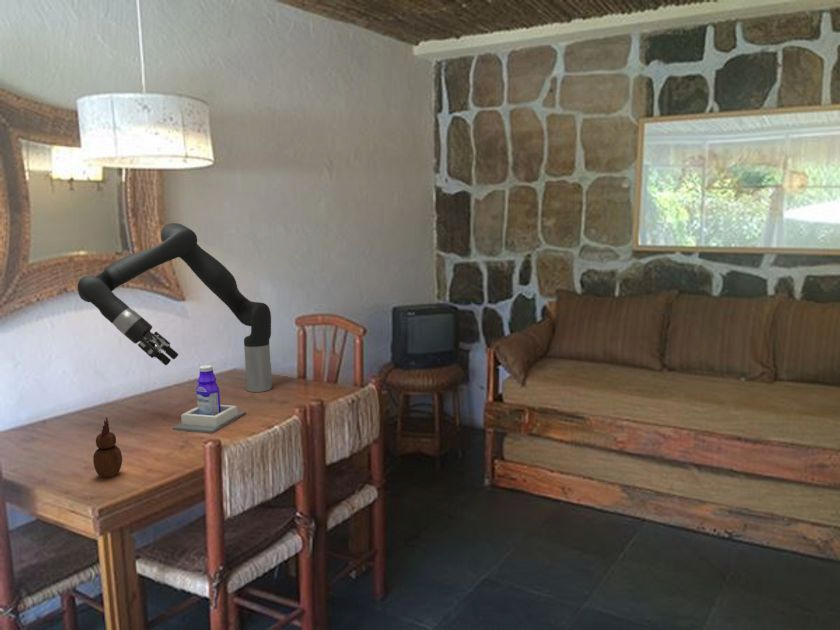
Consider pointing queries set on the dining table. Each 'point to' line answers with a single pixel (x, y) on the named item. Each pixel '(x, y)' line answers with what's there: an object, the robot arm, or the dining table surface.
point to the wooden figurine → (107, 453)
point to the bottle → (208, 392)
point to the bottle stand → (208, 420)
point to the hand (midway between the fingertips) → (172, 360)
